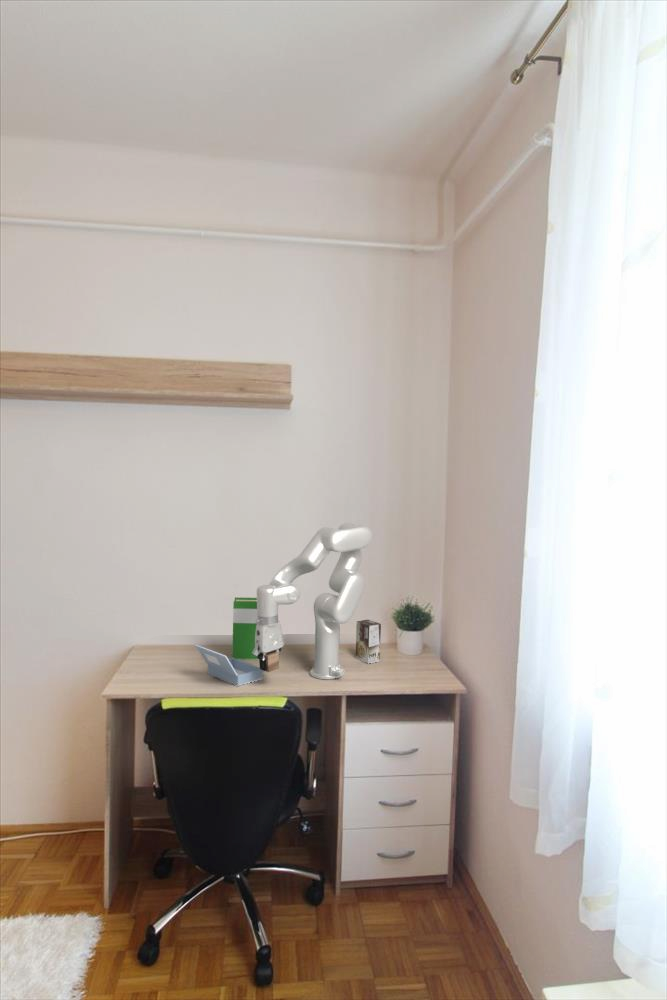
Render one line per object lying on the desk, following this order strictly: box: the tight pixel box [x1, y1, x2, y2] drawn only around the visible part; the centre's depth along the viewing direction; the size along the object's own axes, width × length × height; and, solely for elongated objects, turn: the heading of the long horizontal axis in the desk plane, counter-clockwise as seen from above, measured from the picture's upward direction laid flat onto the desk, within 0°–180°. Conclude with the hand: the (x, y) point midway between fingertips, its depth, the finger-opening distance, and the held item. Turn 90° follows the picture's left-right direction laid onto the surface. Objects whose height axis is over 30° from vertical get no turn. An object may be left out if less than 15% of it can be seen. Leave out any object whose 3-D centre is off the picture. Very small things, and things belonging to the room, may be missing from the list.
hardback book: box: [231, 597, 259, 660], centre depth 279 cm, size 18×7×24 cm, turn 94°
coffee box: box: [355, 619, 382, 665], centre depth 278 cm, size 9×6×16 cm
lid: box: [195, 644, 238, 676], centre depth 246 cm, size 18×10×1 cm
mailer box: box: [207, 657, 264, 687], centre depth 253 cm, size 18×12×4 cm, turn 47°
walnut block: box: [258, 651, 280, 673], centre depth 245 cm, size 5×5×6 cm
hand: (269, 667), depth 245 cm, fingers closed on walnut block, 5 cm apart
